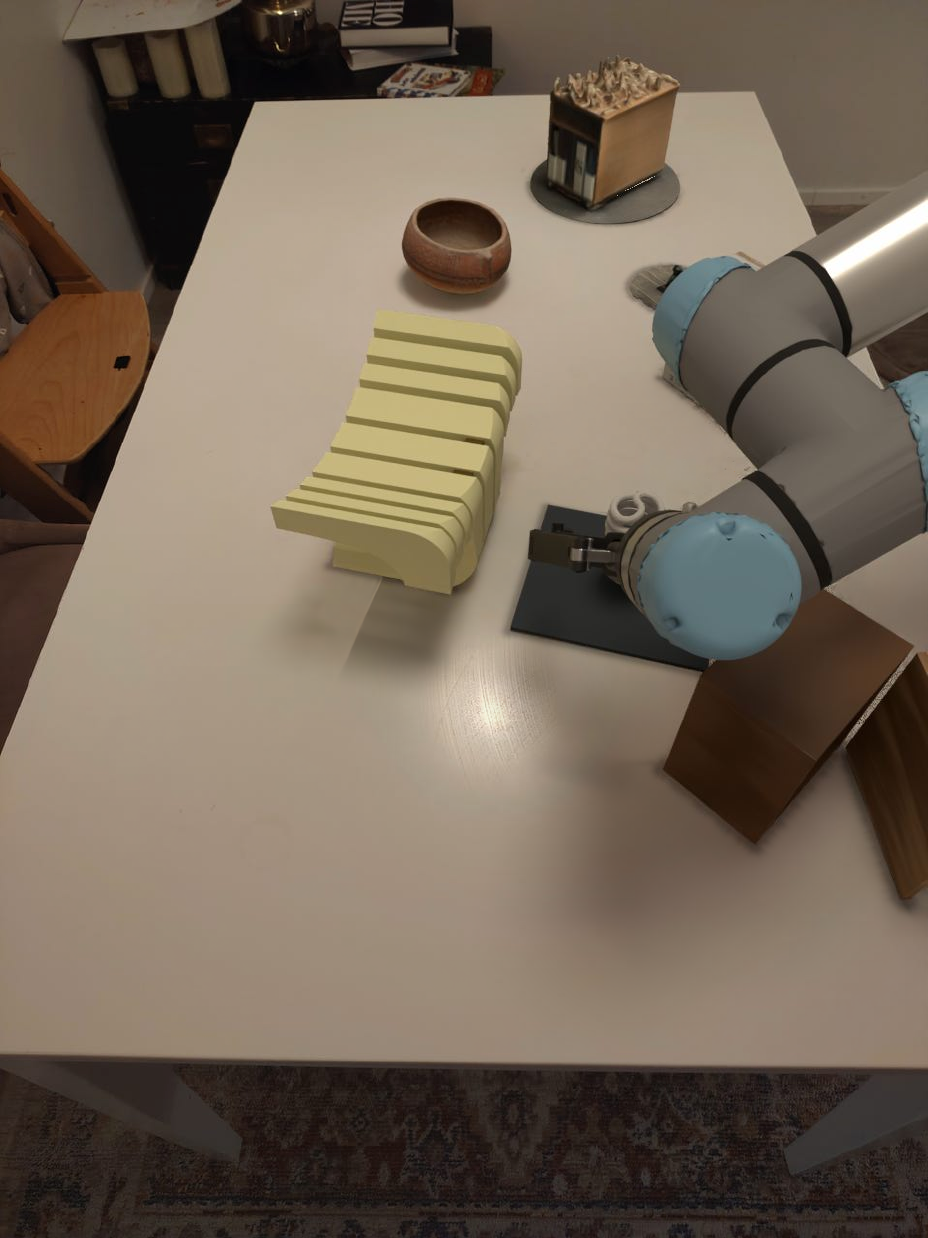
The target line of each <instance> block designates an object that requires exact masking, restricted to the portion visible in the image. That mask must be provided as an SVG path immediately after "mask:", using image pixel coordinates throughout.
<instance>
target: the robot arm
mask: <svg viewBox="0 0 928 1238" xmlns="http://www.w3.org/2000/svg"><path fill="white" fill-rule="evenodd" d="M729 256H730V255H722V256H717V257H716V256H715V257H706V258H703V259H700V260H699V261H696V262H694V263H692V264H691V265H689V266H688V267H686V268H687V269H685V270H684V271H683V272H681V273H680V274H679V275H678V276H677V277H676V278H675V280H674V281H673V282H672V283H671V284H670V285H669V286H668V288H667V289H666V290H665V292H664V294H663V295H662V297H661V299H660V301H659V303H658V305H657V307H656V310H655V309H654V314H653V317H652V325H651V332H652V339H651V341H652V342H653V344H654V346H655V349H656V350H657V352H658V354H659V355H660V357H661V359H662V360H663V361H664V363H665V362H666V364H667V365H668V367H669V368H670V369H671V371H672V372H673V373H674V375H675V376H676V379H677V381H678V382H679V383H680V384H681V386H682V388H683V389H684V390H687V391H689V392H690V393H691V394H692V395H693V397H694V398H695V399H696V400H697V401H698V402H699V403H700V404H701V405H702V406H701V405H700V404H699V405H700V406H701V407H702V408H703V409H704V411H706V412H707V413H708V414H709V415H710V417H711V418H712V419H713V420H714V421H715V422H716V423H717V424H718V425H719V426H720V427H721V429H723V431H724V432H725V433H726V434H727V436H728V437H729V438H730V439H731V441H732V442H733V443H734V444H735V445H736V447H737V448H738V449H739V450H740V451H741V452H742V454H743V455H744V456H745V457H746V458H747V460H749V462H750V463H751V464H752V465H753V467H754V468H755V469H756V470H754V471H753V472H751V473H749V474H747V475H745V476H744V477H742V478H741V479H740V481H738V482H736V483H735V484H733V485H731V486H730V487H728V488H727V489H725V490H723V491H721V492H720V493H719V494H717V495H715V496H713V497H711V498H710V499H709V500H707V501H706V502H704V503H702V504H700V505H698V504H697V503H696V502H693V501H687V502H685V503H683V504H682V507H681V510H679V509H678V510H676V509H665V510H662V511H657V512H654V513H651V514H648V515H646V516H644V517H643V518H641V519H639V520H638V521H637V522H635V523H634V524H633V525H632V526H631V527H630V528H629V529H628V530H627V532H626V533H622V532H608V533H607V534H606V536H605V537H601V536H592V535H583V534H575V533H573V530H572V529H571V528H564V523H552V525H551V532H544V531H541V528H539V529H538V528H534V529H530V530H529V537H528V549H527V560H529V561H531V560H532V561H538V562H543V563H547V564H552V565H556V566H560V567H565V568H568V569H570V570H572V571H575V573H582V572H586V571H587V570H591V567H597V568H601V569H602V570H603V573H604V574H605V575H607V576H613V577H617V578H618V580H619V583H620V585H621V587H622V589H623V591H624V592H625V594H626V595H627V596H628V597H629V598H630V600H631V601H632V602H633V603H634V604H635V605H636V607H637V608H638V609H639V610H640V611H641V612H642V613H643V614H644V615H645V616H646V617H647V619H648V620H649V621H650V623H651V624H652V625H653V627H654V628H655V630H656V631H657V633H658V634H659V635H660V636H662V637H664V638H666V639H668V640H669V642H670V643H671V644H673V645H675V646H677V647H679V648H681V649H683V650H685V651H688V652H690V653H692V654H694V655H697V656H700V657H704V658H708V659H710V660H714V661H715V660H735V659H741V658H745V657H748V656H751V655H753V654H756V653H758V652H760V651H762V650H764V649H765V648H767V647H768V646H770V645H771V644H773V643H774V642H775V641H776V640H777V639H778V638H779V637H780V636H781V635H782V634H783V633H784V631H785V630H786V629H787V627H788V626H789V625H790V623H791V621H792V619H793V617H794V616H795V614H796V612H797V609H798V606H799V605H800V604H802V603H804V602H806V601H807V600H809V599H811V598H812V597H814V596H816V595H817V594H818V593H819V592H820V590H822V589H826V588H828V587H830V586H832V585H833V584H835V583H837V582H838V581H841V580H842V579H844V578H845V577H848V576H849V575H851V574H853V573H854V572H856V571H858V570H859V569H861V568H864V567H865V566H867V565H868V564H870V563H872V562H874V561H875V560H877V559H879V558H881V557H882V556H885V555H886V554H888V553H889V552H891V551H893V550H895V549H896V548H898V547H900V546H902V545H904V544H905V543H907V542H909V541H911V540H913V539H914V538H916V537H917V536H919V535H921V534H922V535H924V534H926V533H928V370H926V371H925V370H924V371H918V372H915V373H912V374H910V375H909V376H907V377H905V378H902V379H900V380H894V381H892V382H891V383H889V384H887V385H886V387H885V388H881V387H880V386H878V384H876V383H875V382H874V381H873V380H872V379H871V378H869V377H868V376H867V374H865V373H864V372H863V371H862V370H861V369H860V368H858V367H857V366H856V365H855V364H854V363H853V362H852V361H850V360H849V357H851V356H853V355H855V354H856V353H858V352H860V351H862V350H864V349H865V348H867V347H869V346H870V345H873V344H874V343H876V342H878V341H880V340H881V339H883V338H885V337H887V336H889V335H890V334H892V333H893V332H895V331H897V330H899V329H900V328H902V327H904V326H906V325H907V324H909V323H911V322H913V321H915V320H916V319H918V318H920V317H922V316H923V315H926V314H927V313H928V169H927V170H926V171H924V172H922V173H920V174H919V175H917V176H916V177H914V178H912V179H910V180H909V181H907V182H905V183H904V184H902V185H900V186H899V187H897V188H895V189H893V190H892V191H890V192H887V194H885V195H883V196H882V197H880V198H878V199H876V200H875V201H873V202H871V203H869V204H868V205H866V206H865V207H863V208H861V209H860V210H858V211H856V212H855V213H852V214H851V215H849V216H848V217H846V218H844V219H843V220H841V221H839V222H838V223H836V224H833V225H832V226H830V227H829V228H827V229H825V230H824V231H822V232H821V233H819V234H817V235H816V236H814V237H812V238H810V239H809V240H807V241H805V242H804V243H802V244H800V245H799V246H797V247H795V248H793V249H792V250H790V251H789V252H788V253H786V254H784V255H782V256H780V257H778V258H776V259H775V260H773V261H772V262H769V263H768V264H765V265H766V266H764V267H763V268H761V269H759V270H757V271H755V269H753V268H752V267H751V266H750V265H748V264H747V263H742V262H740V261H739V260H738V259H736V258H733V257H729Z"/></svg>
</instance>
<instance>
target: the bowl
mask: <svg viewBox="0 0 928 1238" xmlns="http://www.w3.org/2000/svg"><path fill="white" fill-rule="evenodd" d="M508 228H509V227H508V225H507V223H506V222H505V220H504V219H503V217H502V216H501V215H500V214H499V213H498V212H497V210H495V209H494V208H492V207H490V206H488V205H487V204H484V203H482V202H479V201H477V200H472V199H468V198H462V197H461V198H460V197H441V198H440V197H437V198H434V199H430V200H428V201H425V202H423V203H422V204H420V205H419V206H417V207H416V208H415V209H414V210H413V212H412V213H411V214H410V216H409V219H408V220H407V223H406V225H405V228H404V231H403V236H402V239H401V250H402V255H403V258H404V260H405V263H406V265H407V267H408V268H409V269H410V270H411V271H412V273H413V274H414V275H416V276H417V277H418V278H419V279H420V280H421V281H422V282H423V283H425V284H428V285H430V286H431V287H433V288H434V289H437V290H440V291H443V292H447V293H452V294H460V295H461V294H464V295H465V294H474V293H478V292H481V291H484V290H487V289H489V288H491V287H492V286H493V285H495V284H496V283H498V282H499V281H500V280H501V279H502V278H503V276H504V275H505V273H506V272H507V271H508V269H509V267H510V264H511V262H512V261H511V259H512V250H513V249H512V241H511V235H510V232H509V229H508Z"/></svg>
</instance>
